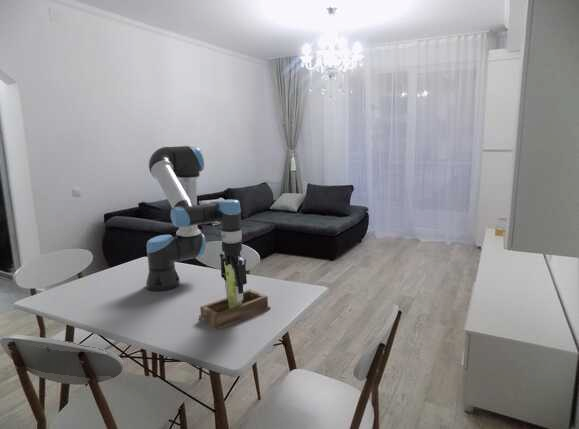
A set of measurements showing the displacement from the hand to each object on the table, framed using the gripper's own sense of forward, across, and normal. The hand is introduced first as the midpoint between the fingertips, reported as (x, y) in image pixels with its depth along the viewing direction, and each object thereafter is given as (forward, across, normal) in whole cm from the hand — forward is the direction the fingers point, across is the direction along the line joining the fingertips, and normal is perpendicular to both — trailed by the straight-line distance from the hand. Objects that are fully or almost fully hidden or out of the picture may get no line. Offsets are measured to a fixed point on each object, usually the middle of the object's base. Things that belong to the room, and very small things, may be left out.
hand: (234, 298), depth 153 cm
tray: (+6, 0, 0) cm, 6 cm away
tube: (+5, 0, 0) cm, 5 cm away
